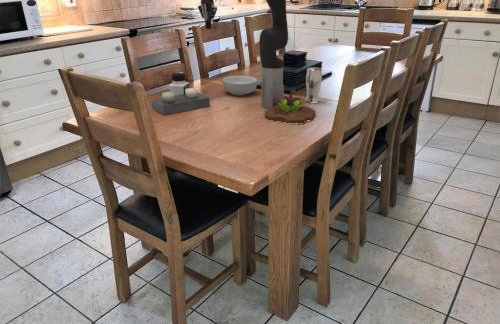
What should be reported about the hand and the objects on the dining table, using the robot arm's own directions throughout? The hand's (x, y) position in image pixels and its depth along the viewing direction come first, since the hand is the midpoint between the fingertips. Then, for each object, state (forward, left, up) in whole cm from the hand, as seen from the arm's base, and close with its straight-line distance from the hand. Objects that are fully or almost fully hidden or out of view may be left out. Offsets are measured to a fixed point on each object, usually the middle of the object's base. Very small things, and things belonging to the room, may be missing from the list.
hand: (208, 28), depth 181 cm
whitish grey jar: (-8, +15, -31) cm, 35 cm away
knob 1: (-8, +25, -31) cm, 41 cm away
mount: (-8, +20, -31) cm, 38 cm away
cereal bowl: (-4, -14, -31) cm, 34 cm away
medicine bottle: (+5, +14, -31) cm, 34 cm away
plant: (-45, -12, -32) cm, 56 cm away
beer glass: (-35, -33, -31) cm, 57 cm away
